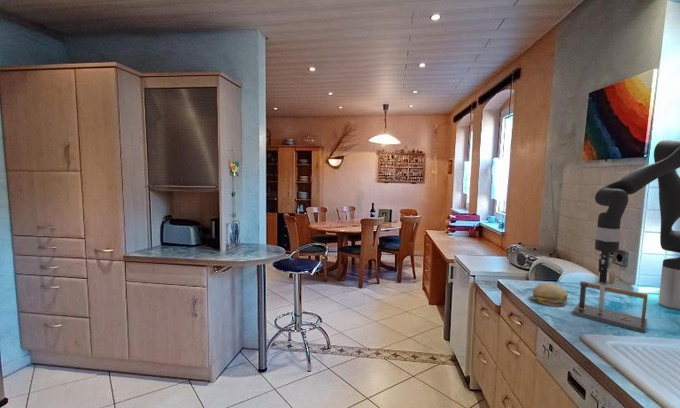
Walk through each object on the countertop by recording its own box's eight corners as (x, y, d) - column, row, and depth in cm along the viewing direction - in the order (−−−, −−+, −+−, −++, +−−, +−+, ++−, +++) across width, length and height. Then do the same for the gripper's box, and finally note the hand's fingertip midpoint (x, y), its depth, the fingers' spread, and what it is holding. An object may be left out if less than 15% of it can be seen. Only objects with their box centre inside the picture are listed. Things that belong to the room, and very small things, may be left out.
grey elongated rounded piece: (596, 308, 139) (600, 269, 138) (606, 311, 137) (610, 270, 135) (594, 311, 136) (598, 271, 134) (604, 314, 134) (608, 273, 132)
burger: (573, 308, 144) (574, 290, 144) (536, 305, 147) (538, 287, 146) (560, 297, 157) (561, 280, 156) (526, 295, 159) (527, 278, 159)
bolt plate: (578, 306, 146) (580, 279, 145) (646, 322, 131) (650, 292, 130) (572, 314, 138) (575, 285, 136) (644, 333, 122) (648, 300, 121)
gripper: (598, 235, 141) (594, 275, 142) (592, 239, 131) (588, 283, 132) (621, 238, 135) (617, 279, 137) (617, 243, 125) (612, 287, 127)
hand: (603, 281), depth 135 cm, fingers closed on grey elongated rounded piece, 3 cm apart
